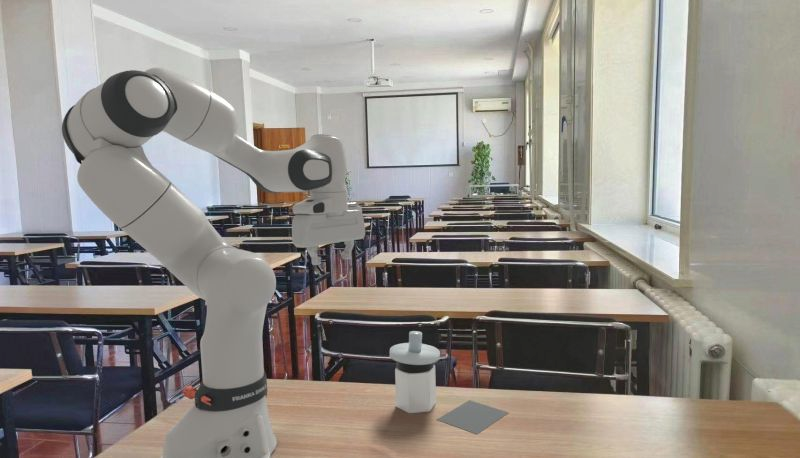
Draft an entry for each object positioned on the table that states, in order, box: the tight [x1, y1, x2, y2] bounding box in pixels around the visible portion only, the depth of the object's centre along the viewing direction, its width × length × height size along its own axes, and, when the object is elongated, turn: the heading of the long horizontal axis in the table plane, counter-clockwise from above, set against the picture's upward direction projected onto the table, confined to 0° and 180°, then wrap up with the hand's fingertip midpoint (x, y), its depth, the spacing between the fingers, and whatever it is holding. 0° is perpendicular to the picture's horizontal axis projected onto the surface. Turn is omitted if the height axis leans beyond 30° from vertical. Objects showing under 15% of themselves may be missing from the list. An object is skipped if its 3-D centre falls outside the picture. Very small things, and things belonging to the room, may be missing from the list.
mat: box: [436, 400, 510, 435], centre depth 110 cm, size 12×10×1 cm
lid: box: [389, 330, 441, 365], centre depth 115 cm, size 11×11×5 cm
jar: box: [394, 361, 437, 414], centre depth 116 cm, size 9×8×12 cm
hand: (331, 261), depth 127 cm, fingers open, 8 cm apart
